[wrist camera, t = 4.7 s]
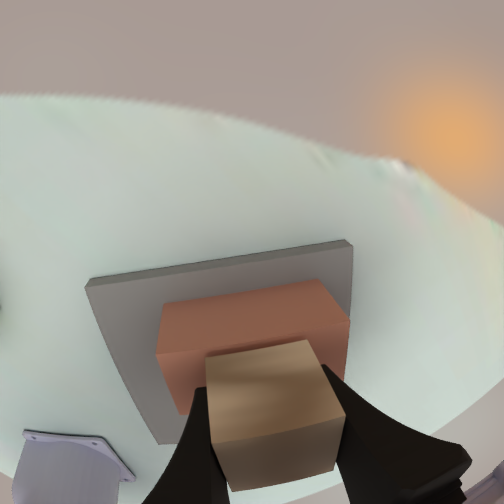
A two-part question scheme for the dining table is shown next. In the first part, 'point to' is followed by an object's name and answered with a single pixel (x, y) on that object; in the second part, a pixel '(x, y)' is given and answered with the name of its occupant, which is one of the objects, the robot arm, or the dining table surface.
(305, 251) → the building plate
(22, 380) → the dining table surface
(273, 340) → the terracotta brick
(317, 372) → the beech cube
